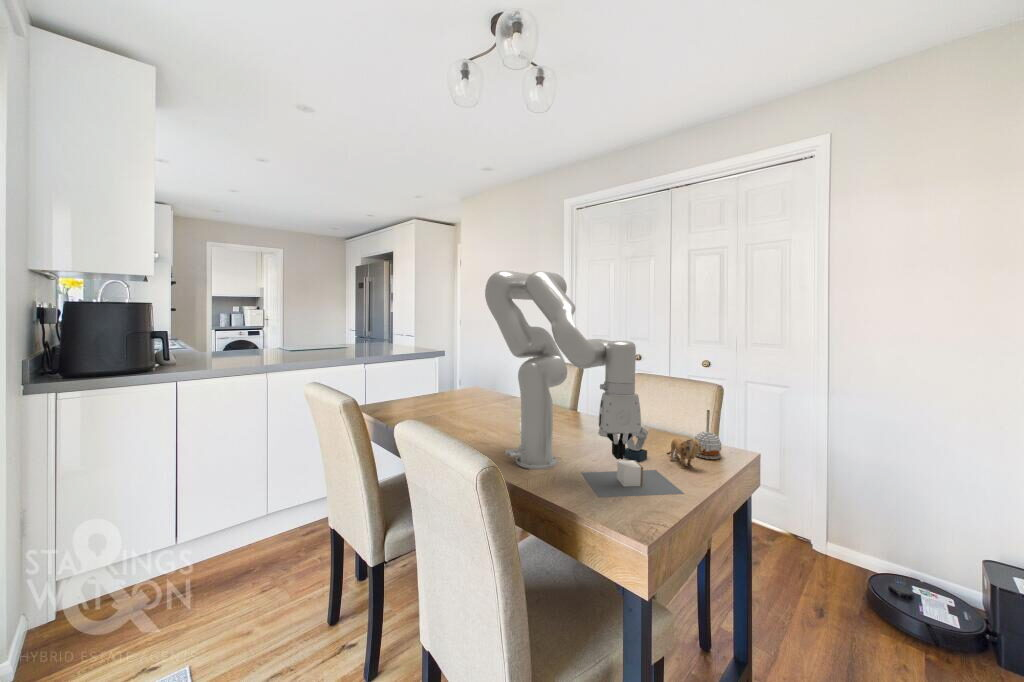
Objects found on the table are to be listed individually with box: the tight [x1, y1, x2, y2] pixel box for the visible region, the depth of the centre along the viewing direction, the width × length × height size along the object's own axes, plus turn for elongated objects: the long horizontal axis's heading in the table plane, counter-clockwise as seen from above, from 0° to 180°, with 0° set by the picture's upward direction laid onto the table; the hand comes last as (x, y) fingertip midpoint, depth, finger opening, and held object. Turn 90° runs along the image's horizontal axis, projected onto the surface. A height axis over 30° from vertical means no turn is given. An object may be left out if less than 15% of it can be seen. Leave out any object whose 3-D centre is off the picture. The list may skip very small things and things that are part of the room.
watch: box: [623, 424, 649, 463], centre depth 129 cm, size 6×8×11 cm
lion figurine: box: [666, 438, 704, 470], centre depth 125 cm, size 15×5×9 cm, turn 15°
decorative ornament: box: [694, 409, 722, 460], centre depth 132 cm, size 8×8×15 cm
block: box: [616, 460, 644, 487], centre depth 110 cm, size 5×5×5 cm
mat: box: [580, 469, 685, 498], centre depth 110 cm, size 22×16×1 cm
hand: (618, 457), depth 109 cm, fingers closed
